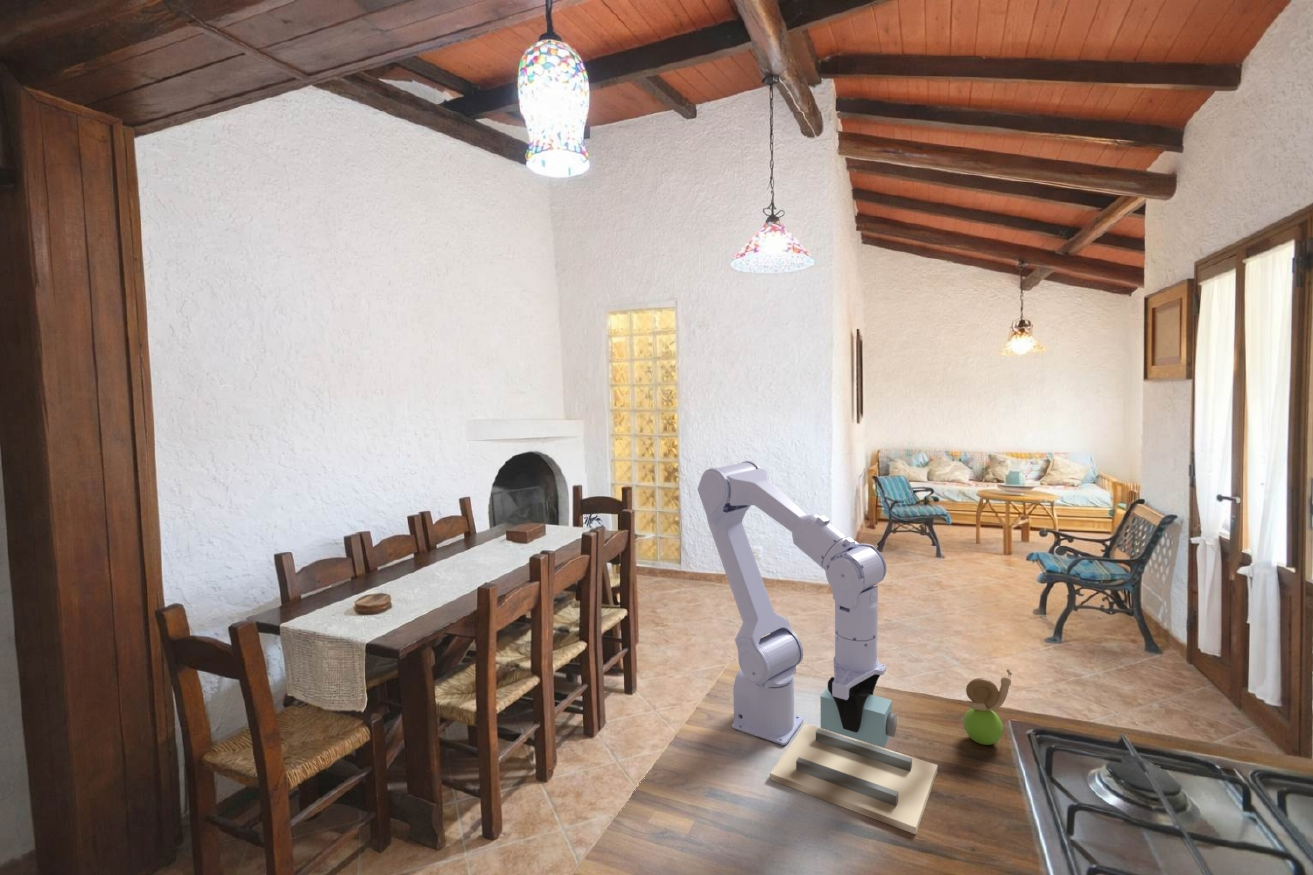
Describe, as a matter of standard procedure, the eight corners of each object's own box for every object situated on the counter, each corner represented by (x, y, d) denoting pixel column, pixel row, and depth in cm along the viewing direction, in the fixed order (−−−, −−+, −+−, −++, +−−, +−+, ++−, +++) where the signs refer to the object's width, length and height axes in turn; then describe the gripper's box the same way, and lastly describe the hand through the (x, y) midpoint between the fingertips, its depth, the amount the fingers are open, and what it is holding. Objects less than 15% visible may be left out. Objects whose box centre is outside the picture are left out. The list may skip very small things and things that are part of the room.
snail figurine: (1014, 754, 94) (1017, 679, 92) (968, 750, 95) (970, 677, 94) (1002, 732, 99) (1005, 661, 98) (959, 729, 101) (960, 659, 99)
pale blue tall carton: (820, 728, 91) (820, 696, 90) (829, 714, 94) (829, 683, 94) (890, 749, 86) (890, 716, 85) (897, 734, 89) (898, 701, 88)
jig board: (770, 779, 91) (769, 763, 91) (805, 729, 102) (805, 714, 102) (915, 834, 80) (916, 816, 79) (937, 771, 91) (937, 755, 91)
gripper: (870, 661, 80) (869, 758, 82) (898, 618, 92) (897, 704, 94) (816, 648, 84) (817, 741, 86) (849, 608, 96) (849, 691, 98)
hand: (855, 721), depth 90 cm, fingers closed on pale blue tall carton, 4 cm apart
